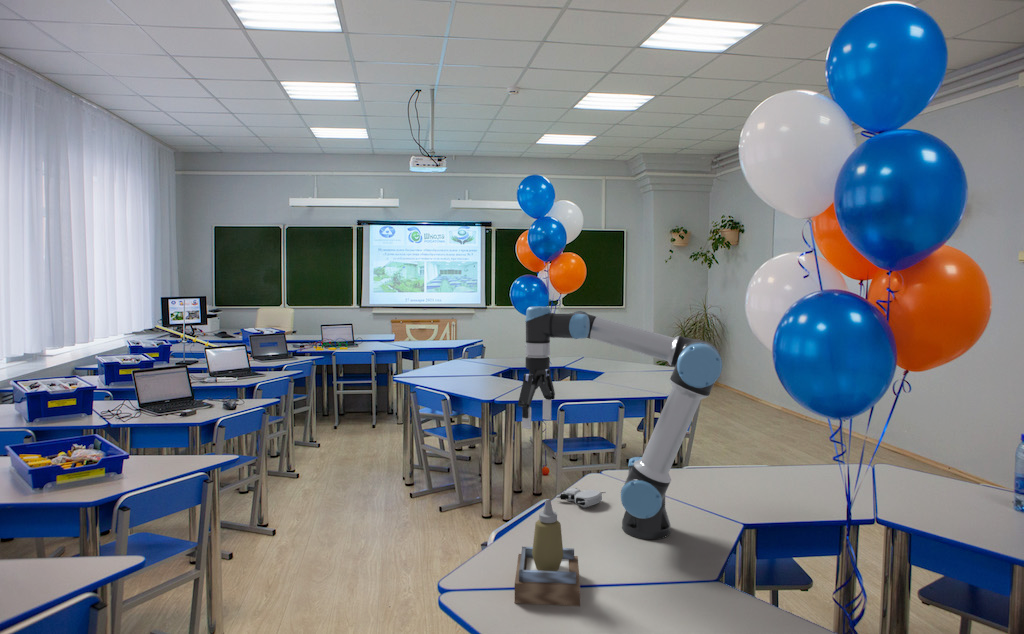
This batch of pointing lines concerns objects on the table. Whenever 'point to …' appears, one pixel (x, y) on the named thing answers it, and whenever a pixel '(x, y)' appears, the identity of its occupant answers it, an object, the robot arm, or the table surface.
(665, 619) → the table surface
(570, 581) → the dock
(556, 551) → the squeeze bottle
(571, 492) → the robot toy
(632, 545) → the table surface
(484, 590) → the table surface
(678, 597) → the table surface
